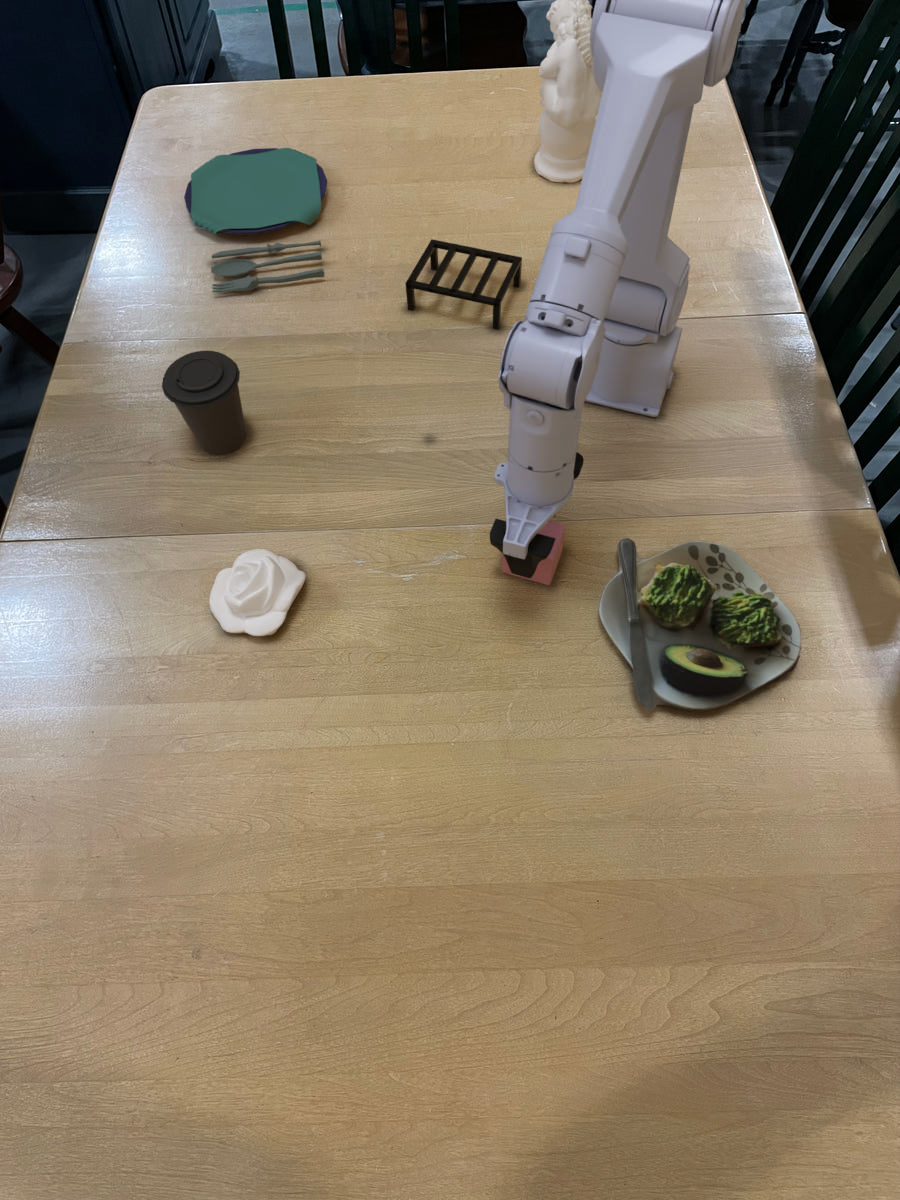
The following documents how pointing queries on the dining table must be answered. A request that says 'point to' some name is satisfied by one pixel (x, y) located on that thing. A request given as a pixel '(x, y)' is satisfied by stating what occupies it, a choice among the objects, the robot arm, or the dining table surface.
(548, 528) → the pink box
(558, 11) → the cherub figurine
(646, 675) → the avocado toast plate
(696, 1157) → the dining table surface
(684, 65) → the robot arm
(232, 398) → the coffee cup
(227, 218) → the cutlery set
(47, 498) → the dining table surface
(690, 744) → the dining table surface
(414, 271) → the rack
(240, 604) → the rose
